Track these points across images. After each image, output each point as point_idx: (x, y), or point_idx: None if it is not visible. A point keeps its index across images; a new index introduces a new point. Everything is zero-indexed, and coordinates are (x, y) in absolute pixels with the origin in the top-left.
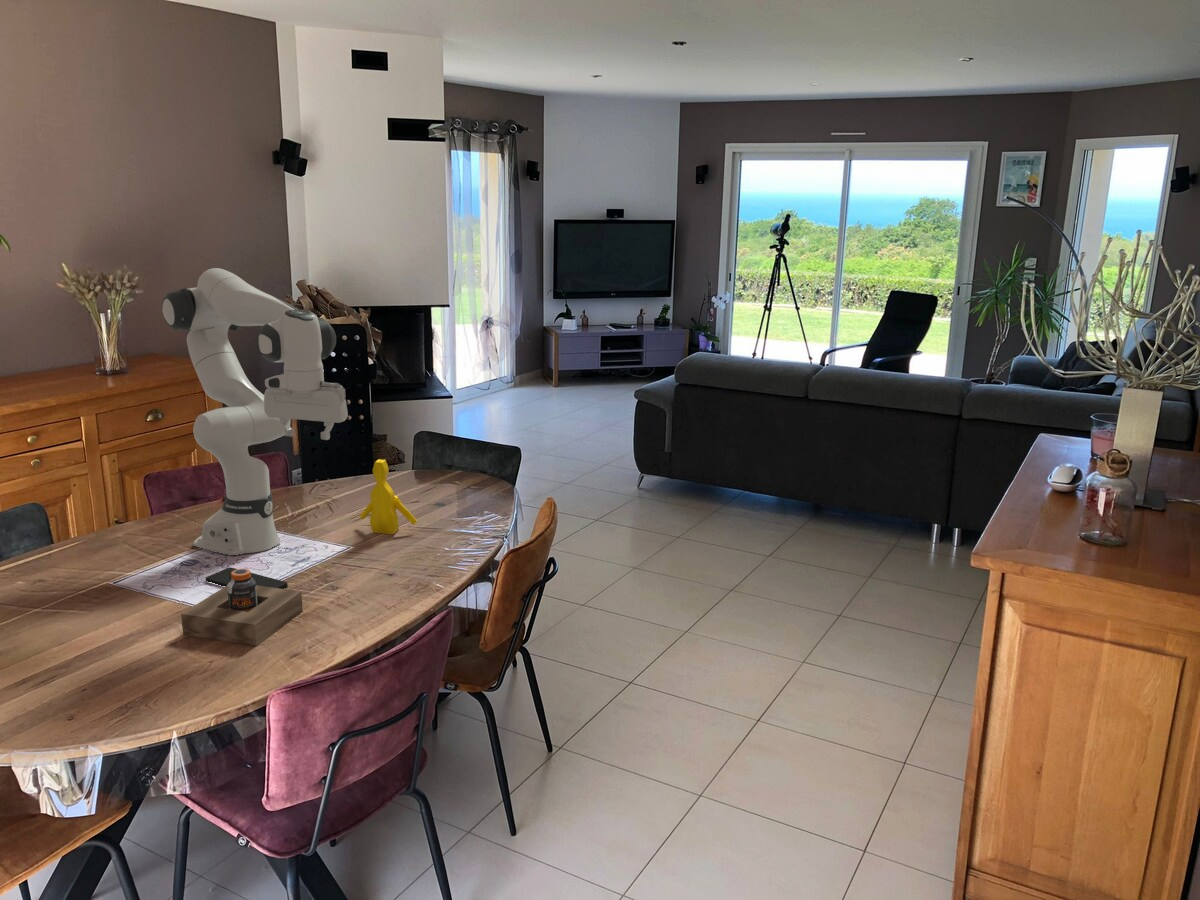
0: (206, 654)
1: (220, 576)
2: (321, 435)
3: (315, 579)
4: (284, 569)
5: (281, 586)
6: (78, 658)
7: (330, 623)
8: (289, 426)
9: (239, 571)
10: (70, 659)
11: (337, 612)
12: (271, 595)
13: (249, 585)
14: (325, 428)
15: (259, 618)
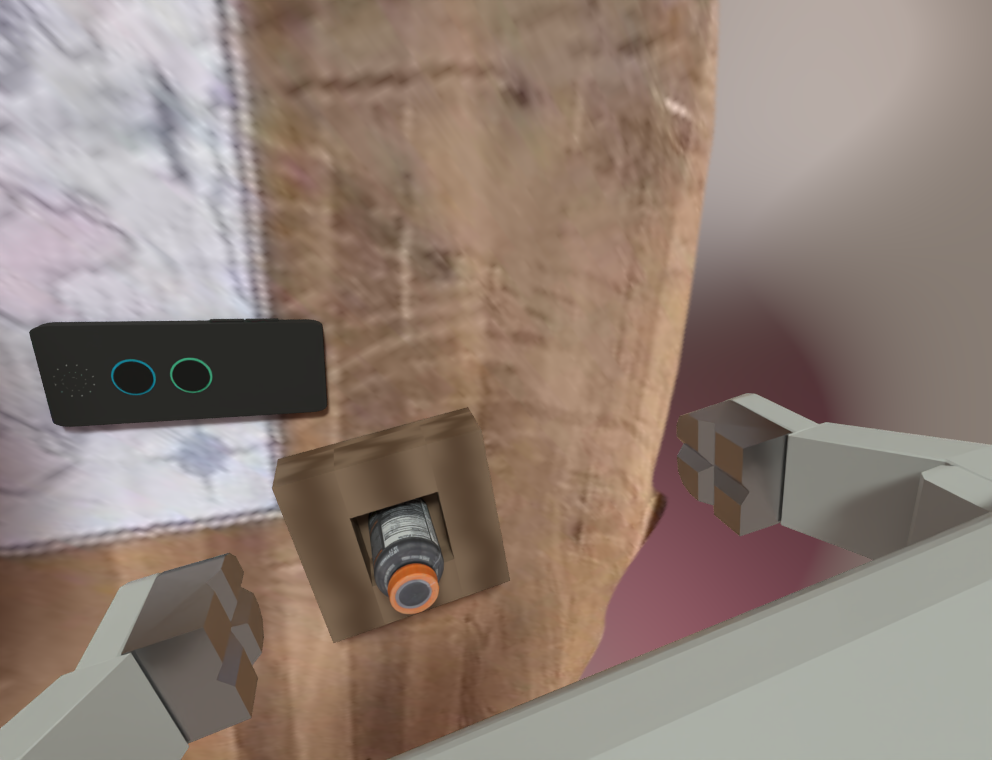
0: (440, 612)
1: (89, 394)
2: (723, 508)
3: (347, 239)
4: (188, 221)
5: (323, 349)
6: (250, 744)
7: (557, 414)
8: (112, 707)
9: (411, 596)
10: (242, 753)
11: (538, 369)
12: (434, 482)
13: (442, 571)
14: (870, 558)
15: (498, 562)
